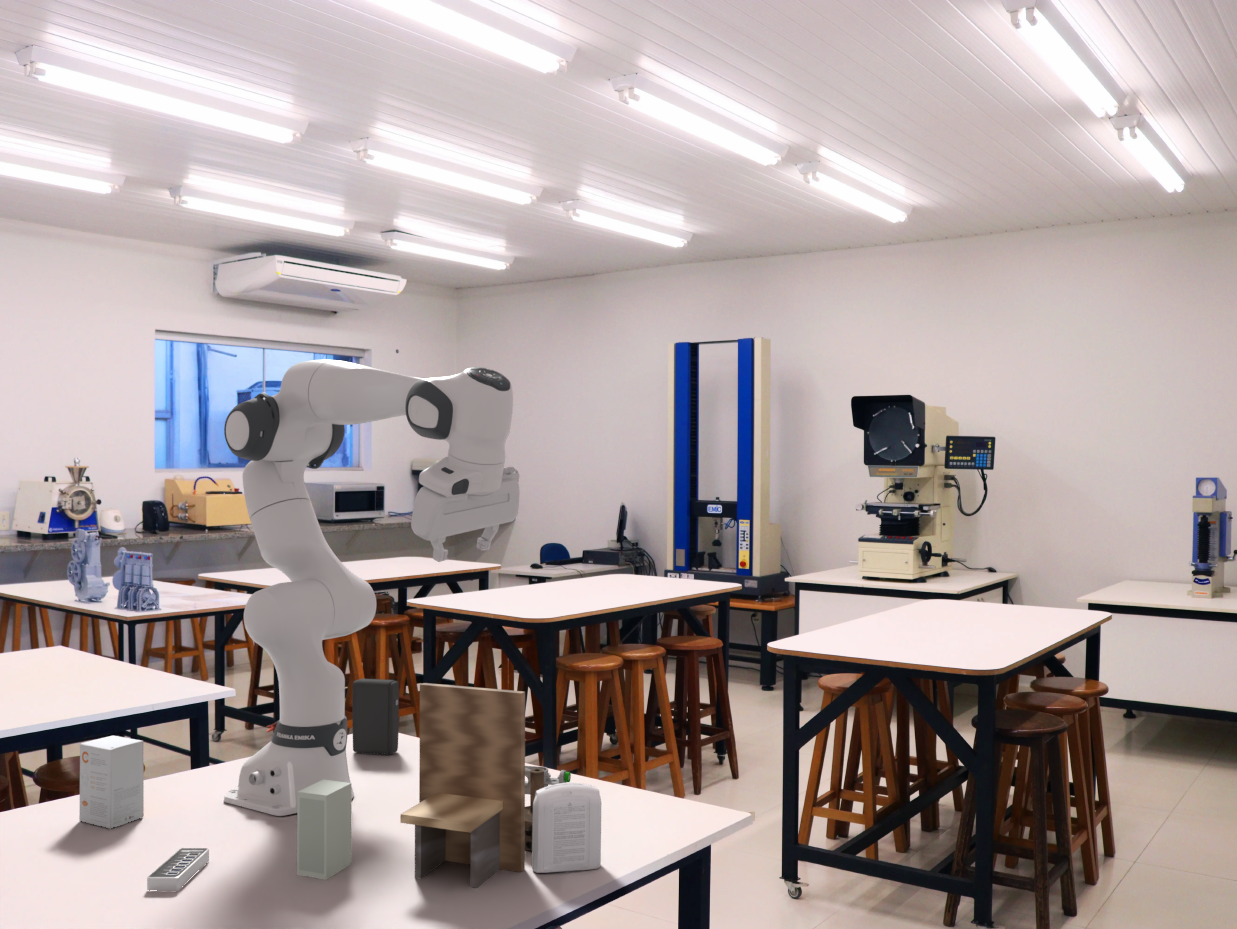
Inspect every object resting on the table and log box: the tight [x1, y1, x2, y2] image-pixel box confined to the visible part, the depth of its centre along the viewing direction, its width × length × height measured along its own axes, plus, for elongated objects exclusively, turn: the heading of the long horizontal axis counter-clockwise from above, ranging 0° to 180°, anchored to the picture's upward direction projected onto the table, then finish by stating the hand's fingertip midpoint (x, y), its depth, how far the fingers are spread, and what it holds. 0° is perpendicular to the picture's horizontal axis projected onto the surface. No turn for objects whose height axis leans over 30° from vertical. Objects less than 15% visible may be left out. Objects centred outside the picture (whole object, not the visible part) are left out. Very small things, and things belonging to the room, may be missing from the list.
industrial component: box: [525, 768, 544, 852], centre depth 153 cm, size 9×7×12 cm
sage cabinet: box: [296, 780, 352, 881], centre depth 145 cm, size 5×6×12 cm
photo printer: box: [531, 782, 602, 874], centre depth 146 cm, size 10×4×12 cm, turn 103°
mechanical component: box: [525, 765, 572, 795], centre depth 161 cm, size 3×10×10 cm, turn 78°
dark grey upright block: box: [351, 678, 400, 756], centre depth 205 cm, size 9×4×15 cm, turn 79°
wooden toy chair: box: [399, 682, 526, 889], centre depth 143 cm, size 17×11×26 cm, turn 70°
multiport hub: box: [146, 847, 210, 892], centre depth 143 cm, size 4×11×2 cm, turn 0°
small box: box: [78, 735, 145, 830], centre depth 166 cm, size 8×6×13 cm
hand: (461, 554), depth 159 cm, fingers open, 8 cm apart
